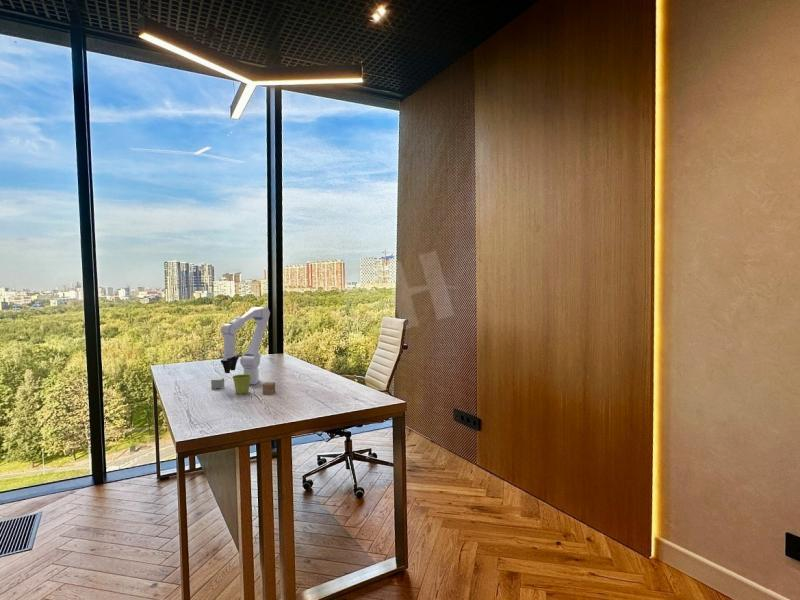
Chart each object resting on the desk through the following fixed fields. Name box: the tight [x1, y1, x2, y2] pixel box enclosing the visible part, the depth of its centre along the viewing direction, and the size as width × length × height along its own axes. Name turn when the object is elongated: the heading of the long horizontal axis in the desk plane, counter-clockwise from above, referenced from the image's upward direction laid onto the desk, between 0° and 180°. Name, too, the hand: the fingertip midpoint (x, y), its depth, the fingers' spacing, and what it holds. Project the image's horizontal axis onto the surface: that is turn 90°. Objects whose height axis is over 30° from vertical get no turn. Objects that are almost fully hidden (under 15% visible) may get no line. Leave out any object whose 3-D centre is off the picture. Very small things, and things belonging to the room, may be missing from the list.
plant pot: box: [232, 373, 251, 395], centre depth 235 cm, size 9×9×9 cm
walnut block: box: [262, 381, 276, 394], centre depth 235 cm, size 5×5×5 cm
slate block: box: [210, 377, 225, 390], centre depth 246 cm, size 5×5×5 cm
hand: (230, 371), depth 243 cm, fingers open, 7 cm apart
